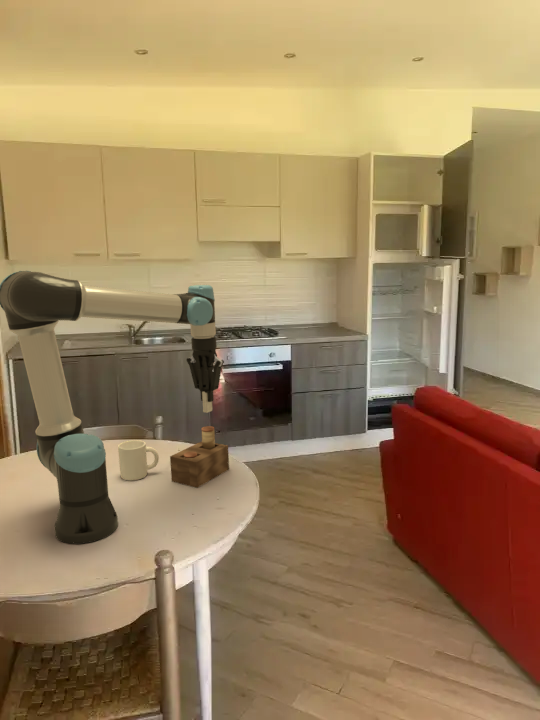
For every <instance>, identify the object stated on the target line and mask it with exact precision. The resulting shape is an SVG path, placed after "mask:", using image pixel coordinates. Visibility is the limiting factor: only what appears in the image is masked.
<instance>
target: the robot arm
mask: <svg viewBox="0 0 540 720" xmlns="http://www.w3.org/2000/svg"><path fill="white" fill-rule="evenodd" d="M0 307H1V308H2V310H3V311H4V314H5V318H6V322H7V325H8V330H9V331H10V332H12V333H14V334H15V335H16V336H17V338H18V342H19V346H20V350H21V355H22V358H23V363H24V366H25V370H26V373H27V379H28V382H29V386H30V391H31V394H32V395H31V396H32V398H33V402H34V407H35V410H36V414H37V419H38V422H39V425H38V426H37V428H36V429H35V437H36V441H37V442H36V454H37V458H38V460H39V462H40V463H41V464H42V466H43V467H44V468H46V469H47V470H48V471H49V472H50V473H51V474H52V475H53V476H54V477H55V478H56V483H57V492H58V499H59V501H58V502H59V507H58V510H57V516H56V520H55V523H54V534H55V538H56V539H57V540H58V541H60V542H62V543H65V544H73V545H74V544H75V545H76V544H87V543H92V542H96V541H99V540H102V539H104V538H106V537H108V536H110V535H111V534H113V533H114V532H115V531H116V530H117V529H118V527H119V526H118V525H119V521H118V519H119V518H118V514H117V512H116V510H115V507H114V506H113V503H112V501H111V498H110V496H109V488H108V487H109V484H108V474H107V460H106V456H107V453H106V449H105V445H104V442H103V440H102V439H101V438H100V437H99V436H97V435H94V434H88V433H85V431H84V427H83V422H82V420H81V419H80V418H78V417H77V416H75V415H74V411H73V407H72V406H73V405H72V403H71V398H70V393H69V390H68V384H67V379H66V377H65V371H64V368H63V363H62V362H63V361H62V359H61V355H60V349H59V346H58V340H57V337H56V336H57V335H56V333H55V327H56V326H57V324H58V323H59V321H67V322H68V321H71V322H77V321H78V320H79V319H81V318H93V319H106V320H107V319H108V320H123V321H136V322H137V321H138V322H140V321H141V322H152V323H154V322H155V323H166V324H167V323H170V324H178V325H179V324H180V325H190V336H191V337H192V338H191V340H190V341H191V349H192V350H193V351H192V354H191V356H190V357H187V358H186V363H187V364H188V366H189V370H190V374H191V377H192V381H193V385H194V386H193V387H194V389H197V390H199V392H200V401H202V412H203V413H207V414H208V413H210V412H212V411H213V402H214V391H216V390H218V389H219V387H220V382H221V381H220V380H221V374H222V373H221V372H222V367H223V365H224V364H225V360H224V359H220V358H219V357H218V353H217V337H216V334H217V333H216V331H217V330H216V329H217V328H216V314H215V313H216V311H215V292H214V288H213V286H212V285H209V284H196V285H195V284H194V285H190V286H189V287H188V288H187V292H185V293H176V294H175V293H174V294H170V293H161V292H151V291H142V290H141V291H140V290H134V289H133V290H131V289H122V288H114V287H103V286H96V285H95V286H92V285H83V284H82V282H80V280H77V279H76V280H75V279H69V278H63V277H59V276H55V275H51V274H49V273H48V274H47V273H43V272H40V271H30V270H19V271H15V272H13V273H10V274H9V275H7V276H6V277H5V278H4V279H2V281H1V282H0Z"/></svg>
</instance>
